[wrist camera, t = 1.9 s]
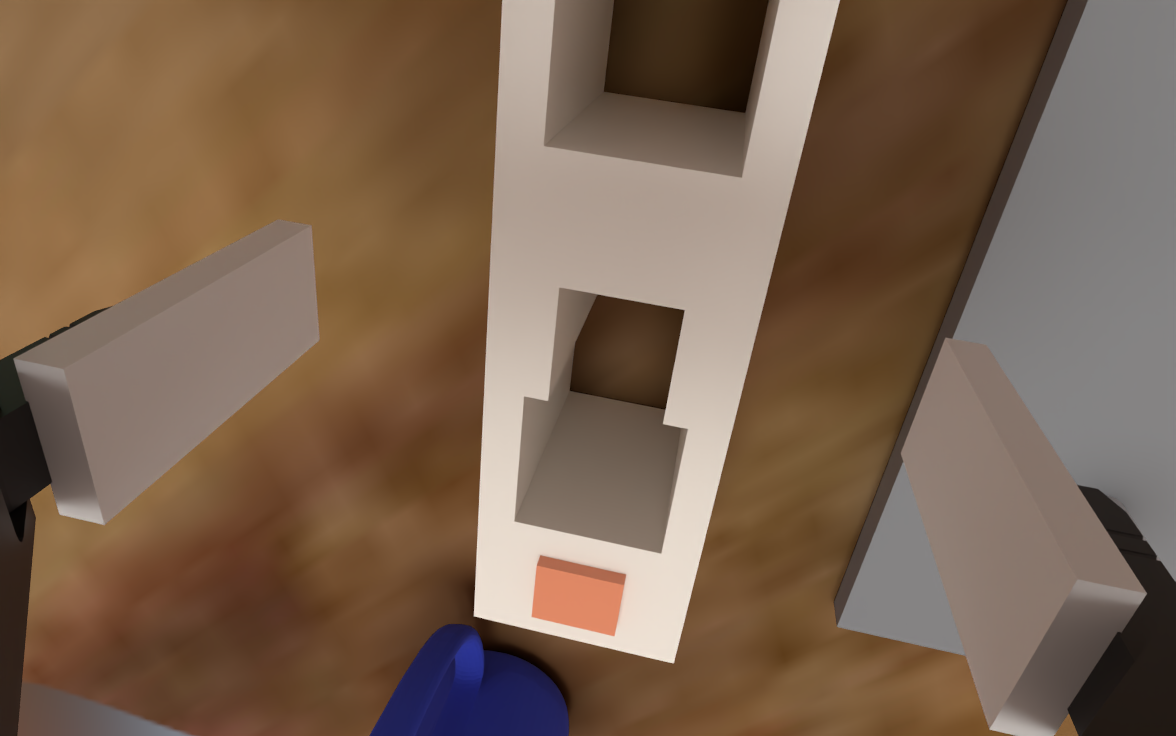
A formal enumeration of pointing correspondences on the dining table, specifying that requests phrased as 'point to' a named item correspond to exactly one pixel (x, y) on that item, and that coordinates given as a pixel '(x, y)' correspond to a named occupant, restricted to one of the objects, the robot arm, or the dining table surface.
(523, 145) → the white slotted block
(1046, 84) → the grey piece
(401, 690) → the mug
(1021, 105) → the dining table surface
